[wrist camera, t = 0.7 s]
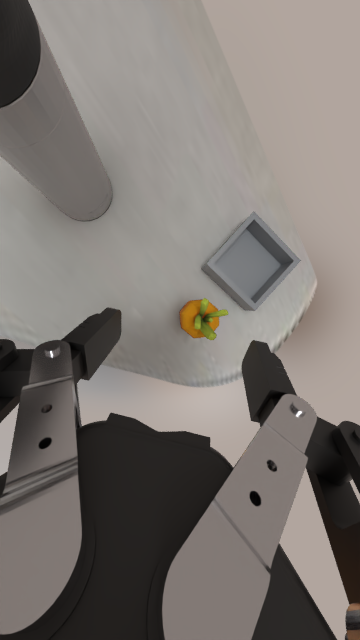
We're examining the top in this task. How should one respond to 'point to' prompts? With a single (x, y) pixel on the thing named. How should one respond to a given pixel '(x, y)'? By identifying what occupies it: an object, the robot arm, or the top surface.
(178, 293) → the top surface
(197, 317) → the carrot
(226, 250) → the bin
